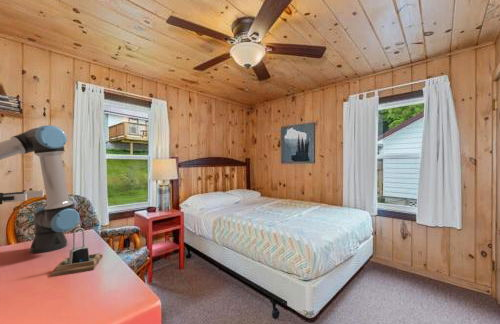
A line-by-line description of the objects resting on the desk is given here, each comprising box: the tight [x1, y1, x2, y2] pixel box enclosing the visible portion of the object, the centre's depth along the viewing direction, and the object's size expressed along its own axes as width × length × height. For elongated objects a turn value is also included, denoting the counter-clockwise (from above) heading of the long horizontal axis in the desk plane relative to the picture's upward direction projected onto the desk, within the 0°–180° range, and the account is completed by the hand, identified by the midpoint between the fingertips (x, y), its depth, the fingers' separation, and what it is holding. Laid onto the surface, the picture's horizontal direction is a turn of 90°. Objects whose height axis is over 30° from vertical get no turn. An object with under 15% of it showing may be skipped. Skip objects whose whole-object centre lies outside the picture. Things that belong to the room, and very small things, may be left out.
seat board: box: [51, 252, 103, 278], centre depth 99 cm, size 15×14×3 cm
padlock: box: [68, 227, 90, 264], centre depth 99 cm, size 7×4×15 cm, turn 142°
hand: (35, 195), depth 95 cm, fingers open, 13 cm apart
